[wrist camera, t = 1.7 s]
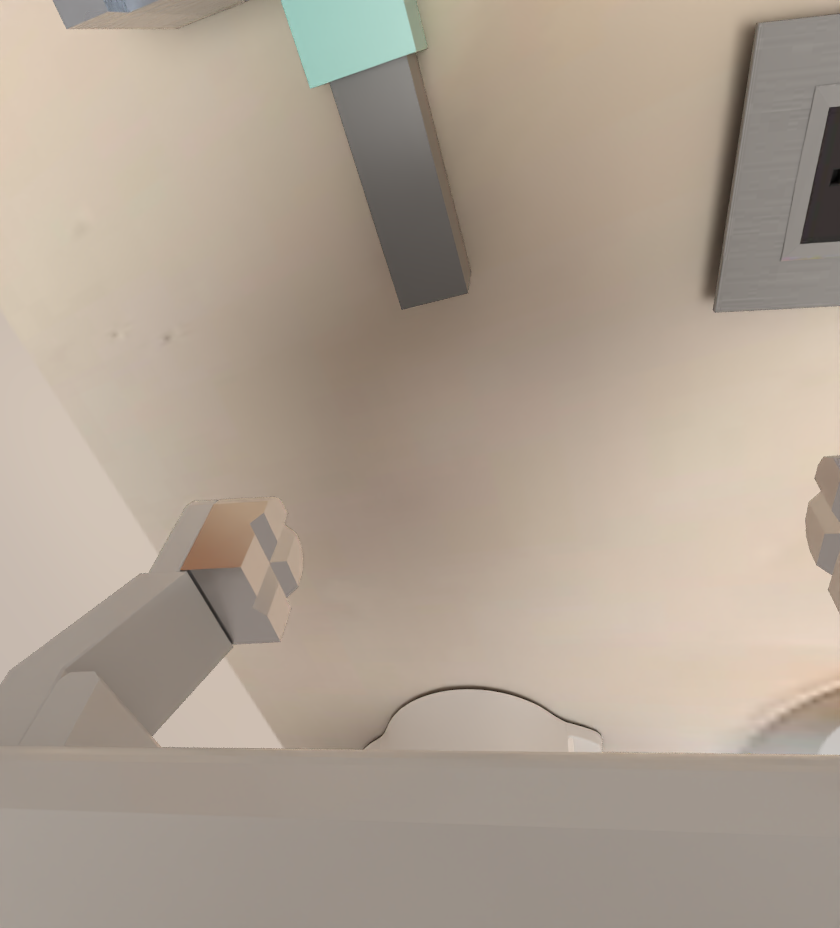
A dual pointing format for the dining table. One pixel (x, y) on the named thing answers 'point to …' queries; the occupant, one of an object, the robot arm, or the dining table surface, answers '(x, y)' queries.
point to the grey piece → (137, 13)
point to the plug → (388, 135)
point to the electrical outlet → (786, 174)
